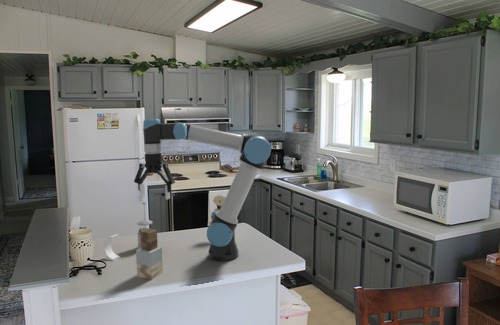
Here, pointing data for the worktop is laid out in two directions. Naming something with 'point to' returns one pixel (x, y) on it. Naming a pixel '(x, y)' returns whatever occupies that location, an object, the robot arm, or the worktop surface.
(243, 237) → the worktop surface
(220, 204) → the flower in vase
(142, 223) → the french press
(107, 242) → the white curved piece
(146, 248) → the walnut block
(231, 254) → the robot arm
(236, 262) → the worktop surface
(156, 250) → the grey block
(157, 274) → the beech block
